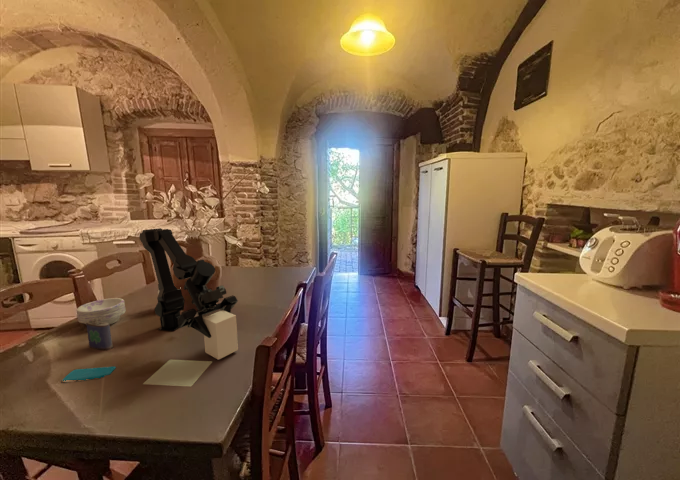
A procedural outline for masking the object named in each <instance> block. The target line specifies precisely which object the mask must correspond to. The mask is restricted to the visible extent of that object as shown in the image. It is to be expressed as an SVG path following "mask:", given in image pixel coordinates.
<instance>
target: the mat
mask: <svg viewBox="0 0 680 480" xmlns="http://www.w3.org/2000/svg"><path fill="white" fill-rule="evenodd" d="M212 363H213V361H212V360H211V361H210V360H209V361H208V360H191V359H190V360H187V359H169V360H168V361H166V362H165V363H164V364H163V365H162V366H161V367H160V368H159V369H158V370H156V371H155V372H154V373H153V374H152V375H151V376H150V377H148V379H146V381H144V382H143V383H142V385H153V386H168V387H169V386H171V387H172V386H174V387H189V388H191V387H192V386H193V385H194V384H195V382H197V380H198V379H199V378H200V377H201V376H202V375H203V374H204V373H205V371H206V370H207V369H208V368H209V367H210V366H211V364H212Z"/></svg>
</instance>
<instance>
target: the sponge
mask: <svg viewBox="0 0 680 480" xmlns="http://www.w3.org/2000/svg"><path fill="white" fill-rule="evenodd" d="M115 369H116V366H114V365H113V366H106V367H105V366H102V367H90V368H89V367H88V368H78V369H77V368H76V369H73V370H72V371H70V372H69V373H68V374H67V375H66V376H65V377H64V378H62V380H63V381H64V380H65V381H66V380H84V381H87V380H86V379H90V380H95V379H94V378H99V379H102V378H106V377H105V376H110V375H111V374H112V373H113V371H114V370H115ZM101 377H102V378H101Z"/></svg>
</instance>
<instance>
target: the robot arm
mask: <svg viewBox="0 0 680 480" xmlns="http://www.w3.org/2000/svg"><path fill="white" fill-rule="evenodd" d="M139 241H140V242H141V244H142V246H143V248H144V249H145V250H147V252H149V254H150V256H151V261H152V265H153V266H154V267H153V268H154V272H155V276H156V279H157V282H158V284H159V287H160V292H159V294H158V293H157V303H156V305H155V308H154V312H155V315H156V316H158V317H159V320H160V327H159V328H158V329H157V330H158V331H162V332H163V331H164V332H166V331H168V332H175V331H176V330H177V329H182V328H185V327H187V328H192V329H194V330H196V331H198V332H200V333H201V334H202V335H203V336H204V335H205V336H207V337H208V338H210V337H211V334H210V332H209V330H208V328H207V327H206V325H205V323H204V321H203V317H204V316H206V315H209V314H210V313H215V312H216V311H218V310H219V311H222V310H224V311H226V312H229V313H231V314H232V312H231V311H232V309H233V308H234V307H235V305H236V304H237V303H238V301H239V300H238V298H237V296H235V295H229V296H226V297H224V295H227V290H226V288H225V286H224V285H222V284H221V285H218V286H216V288H215V289H214V290H212V289H211V288H208V286H207V284H208V283H209V282H210V281H211V280H212V279H211V278H212V277H213V276H214V275H215V273H216V268H215V266H214V265H213V264H211V263H210V262H207V261H205V260H204V259H203V258H202V259H198V260H196V259H195V258H194V257H193V256H191V255H189V254H186V252H185V251H184V249H183V248H182V246H181V245H180V244H179V242H178V241H177V240H176V238H175V236H174V235H173V231H172V230H171V229H169V228H164V229H163V228H162V227H160V228H159V227H158V228H151V229H150V228H149V229H143V230H142V231H141V233H139ZM167 256H168V257H169V259H170V260H171V262H172V271H173V275H174V276H175V278H176V279H178V281H180V280H186V279H187V280H186V281H184V286H183V290H184V291H186V290H187V292H188V294H189V296H190V298H191V304H192V305H194V306H195V308H196V309H197V310H196V309H195V308H191V309H188V310H185V311H184V309H185V302H186V301H185V297H184V295H183V293H182V289H181V288H180V289H181V290H180V289H177V288H176V287H175V286H174V283H173V280H174V279H173V276H172V273H171V269H170V265H169V261H168V258H167ZM220 299H222V300H221V302H220V303H218V302H219V301H220Z"/></svg>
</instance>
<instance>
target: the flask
mask: <svg viewBox="0 0 680 480" xmlns="http://www.w3.org/2000/svg"><path fill="white" fill-rule="evenodd" d="M99 319H100V318H94V319H92V320H91V321H87V322H86V324H85V325H86V330H87V331H86V332H87V338H88V339H87V340H88V348H90V349H93V350H98V351H99V350H100V351H108V350H109V351H110V350H111V349H113V345H114V344H113V340H112V334H111V327H110V325H111V324H110V323H104V322H99V321H100V320H99Z"/></svg>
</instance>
